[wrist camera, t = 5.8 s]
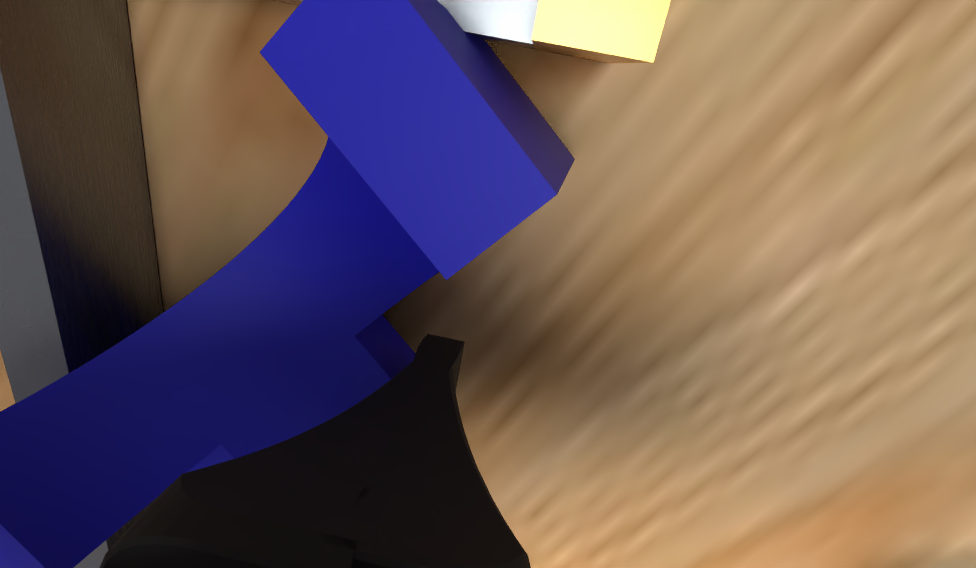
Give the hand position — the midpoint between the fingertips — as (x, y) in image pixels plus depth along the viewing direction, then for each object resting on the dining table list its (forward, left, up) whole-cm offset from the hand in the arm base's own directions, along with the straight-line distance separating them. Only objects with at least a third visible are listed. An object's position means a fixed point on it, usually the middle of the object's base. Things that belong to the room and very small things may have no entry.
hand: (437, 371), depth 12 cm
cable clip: (-2, +1, -1) cm, 3 cm away
